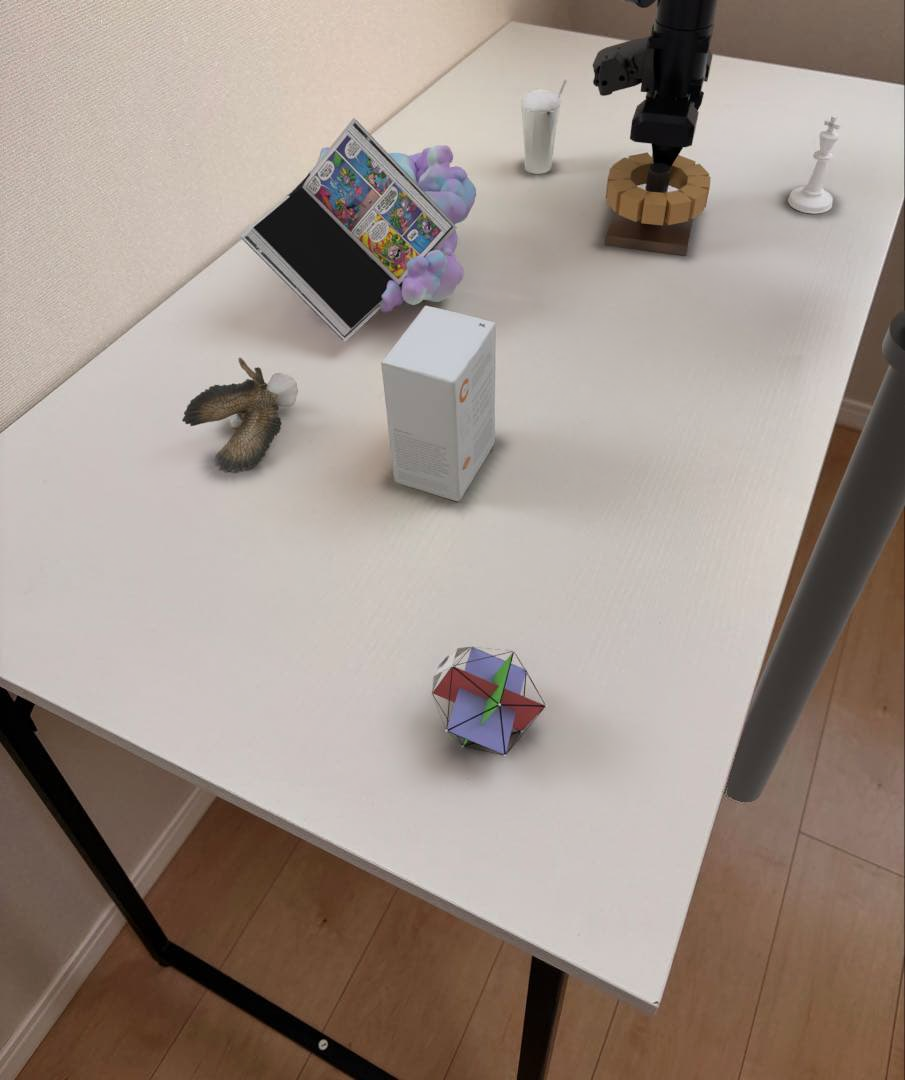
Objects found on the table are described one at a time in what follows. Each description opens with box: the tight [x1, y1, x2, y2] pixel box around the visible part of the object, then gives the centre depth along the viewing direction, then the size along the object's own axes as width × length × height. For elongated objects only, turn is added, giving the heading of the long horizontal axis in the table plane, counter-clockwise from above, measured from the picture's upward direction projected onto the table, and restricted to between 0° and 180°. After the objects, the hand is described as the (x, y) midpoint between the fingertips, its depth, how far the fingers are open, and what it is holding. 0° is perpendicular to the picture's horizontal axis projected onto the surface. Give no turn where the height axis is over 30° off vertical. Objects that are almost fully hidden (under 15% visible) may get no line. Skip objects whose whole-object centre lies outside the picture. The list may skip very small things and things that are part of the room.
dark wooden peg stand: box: [603, 163, 695, 256], centre depth 103 cm, size 9×9×7 cm
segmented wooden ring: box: [605, 152, 711, 225], centre depth 102 cm, size 11×11×2 cm
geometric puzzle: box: [430, 645, 548, 758], centre depth 62 cm, size 7×7×8 cm
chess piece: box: [787, 115, 841, 215], centre depth 105 cm, size 5×5×10 cm
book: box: [239, 117, 477, 343], centre depth 94 cm, size 20×22×18 cm
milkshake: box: [520, 79, 567, 175], centre depth 112 cm, size 5×5×10 cm
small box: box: [380, 305, 497, 502], centre depth 77 cm, size 8×6×13 cm
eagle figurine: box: [182, 357, 299, 473], centre depth 82 cm, size 8×7×9 cm
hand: (661, 170), depth 105 cm, fingers closed on segmented wooden ring, 2 cm apart
